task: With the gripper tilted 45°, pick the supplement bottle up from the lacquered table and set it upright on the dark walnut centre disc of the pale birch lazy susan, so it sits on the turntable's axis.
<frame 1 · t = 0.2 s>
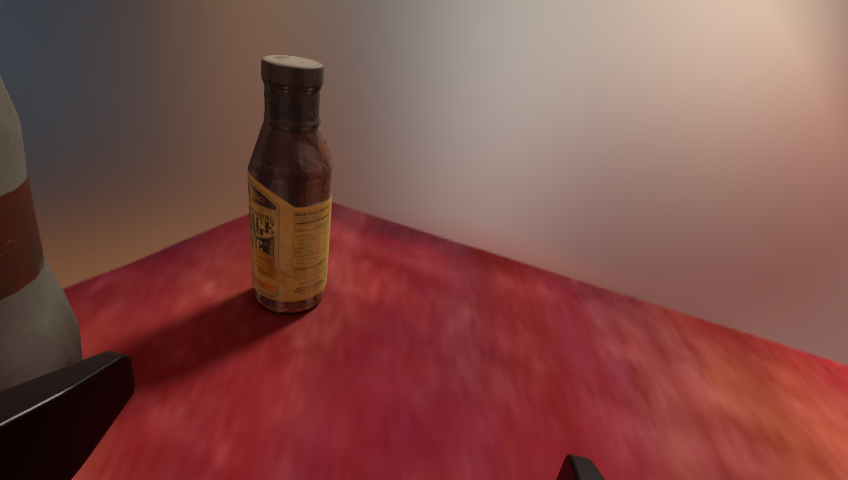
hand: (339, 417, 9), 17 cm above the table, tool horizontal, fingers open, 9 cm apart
sauce bottle: (291, 298, 39), on the table
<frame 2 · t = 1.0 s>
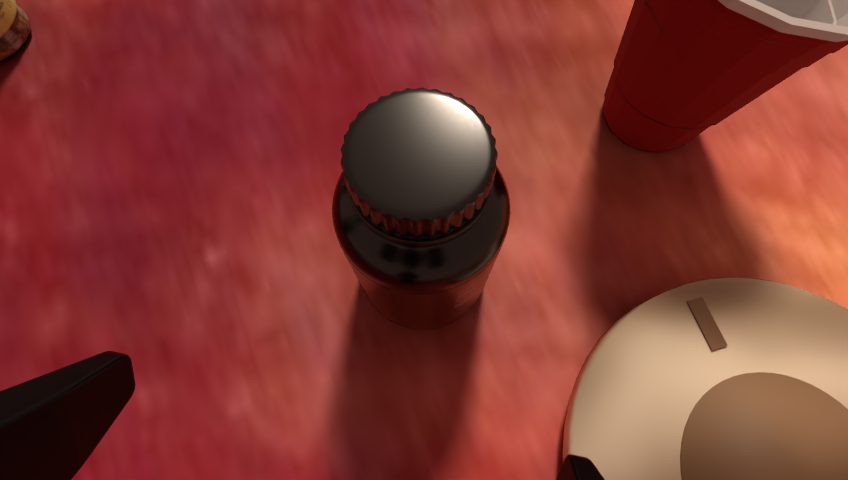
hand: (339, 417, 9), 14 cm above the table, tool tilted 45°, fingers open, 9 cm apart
supplement bottle: (422, 270, 24), on the table
plastic cup: (649, 116, 28), on the table
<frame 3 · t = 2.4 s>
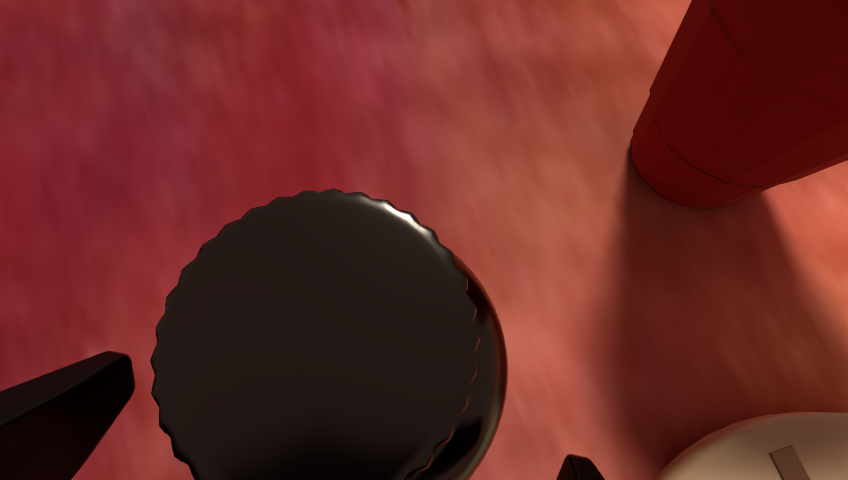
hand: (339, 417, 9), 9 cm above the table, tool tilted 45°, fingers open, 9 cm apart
supplement bottle: (386, 382, 18), on the table
plastic cup: (690, 158, 21), on the table
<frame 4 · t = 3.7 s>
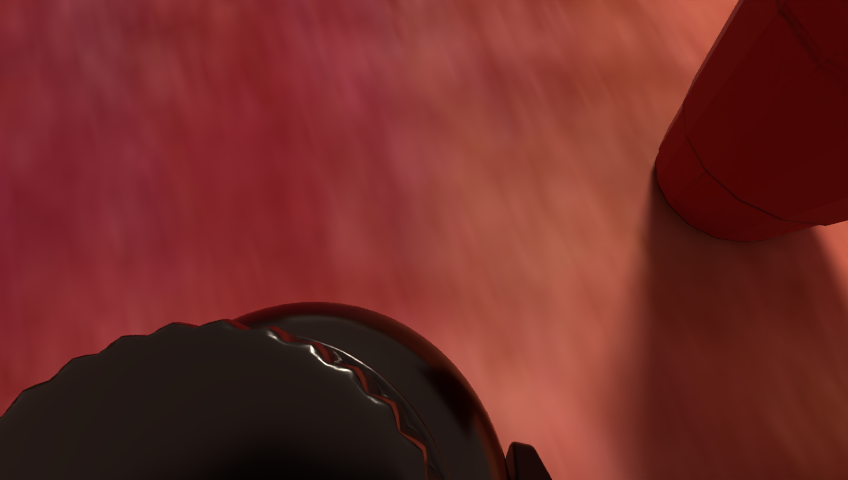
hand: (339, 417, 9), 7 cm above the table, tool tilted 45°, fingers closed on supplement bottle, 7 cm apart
supplement bottle: (366, 457, 15), on the table, touching gripper
plastic cup: (725, 180, 18), on the table
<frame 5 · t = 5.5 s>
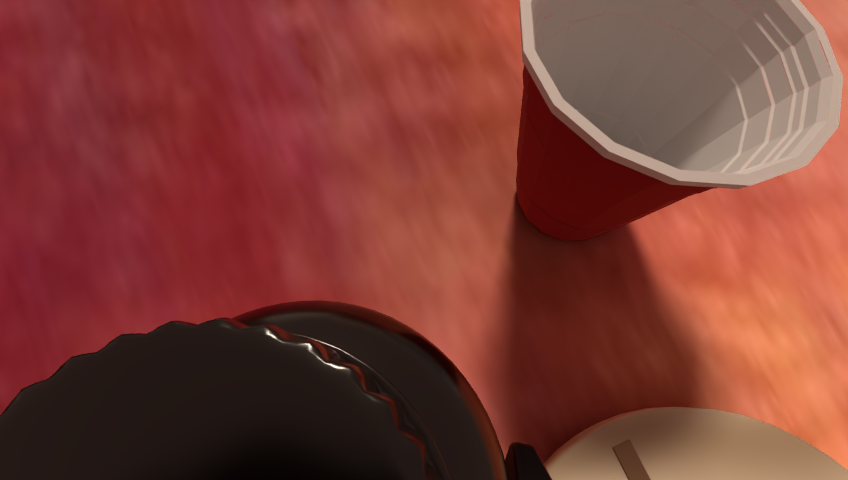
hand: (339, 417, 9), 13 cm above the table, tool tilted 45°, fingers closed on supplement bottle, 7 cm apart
supplement bottle: (365, 455, 15), point 6 cm above the table, touching gripper
plastic cup: (568, 196, 25), on the table
when the fingers open (10 cm above the table, at t = 7.8 s): supplement bottle drops 1 cm, resting on turntable.
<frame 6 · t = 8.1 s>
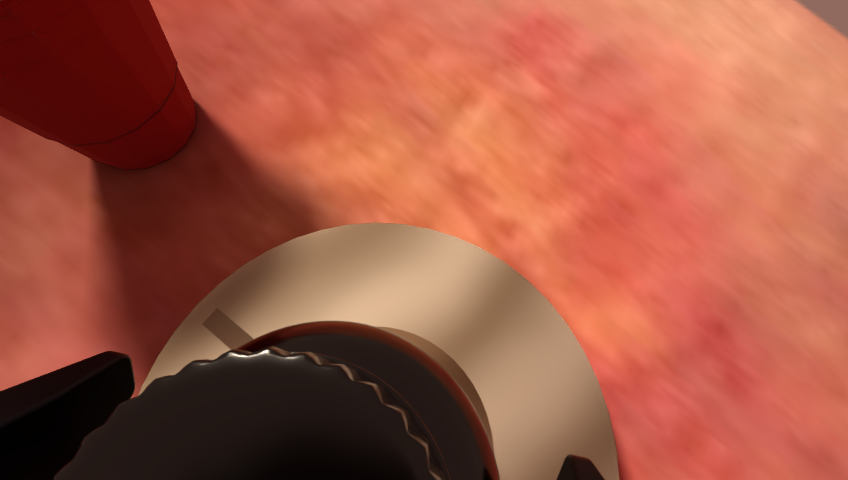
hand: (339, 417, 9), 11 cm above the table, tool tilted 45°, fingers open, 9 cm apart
turntable: (371, 449, 16), point 2 cm above the table, hinge at 0.0°, touching supplement bottle
supplement bottle: (371, 455, 16), point 2 cm above the table, touching turntable
plastic cup: (150, 124, 24), on the table
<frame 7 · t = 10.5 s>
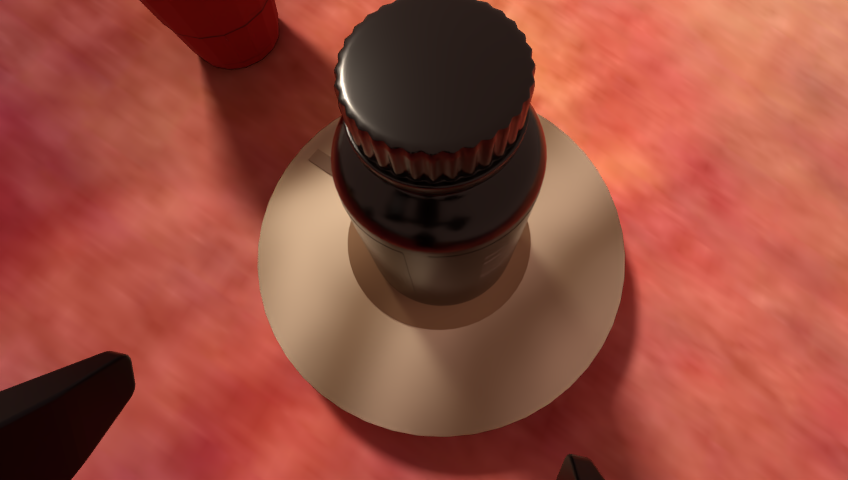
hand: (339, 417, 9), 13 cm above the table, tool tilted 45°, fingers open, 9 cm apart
turntable: (438, 242, 22), point 2 cm above the table, hinge at 0.0°, touching supplement bottle
supplement bottle: (440, 241, 22), point 2 cm above the table, touching turntable
plastic cup: (242, 36, 30), on the table
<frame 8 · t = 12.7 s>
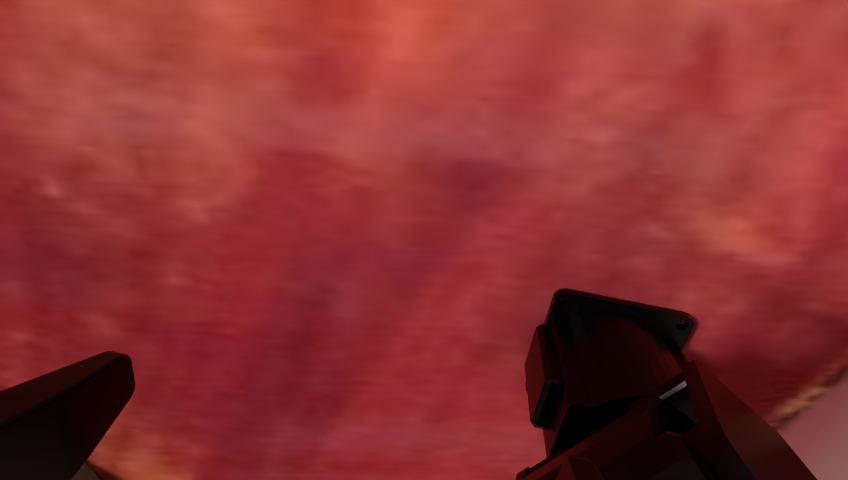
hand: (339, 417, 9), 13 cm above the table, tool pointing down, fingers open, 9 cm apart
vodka: (61, 478, 34), on the table
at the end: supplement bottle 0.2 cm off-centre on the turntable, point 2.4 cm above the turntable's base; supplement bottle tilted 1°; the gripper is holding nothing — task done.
